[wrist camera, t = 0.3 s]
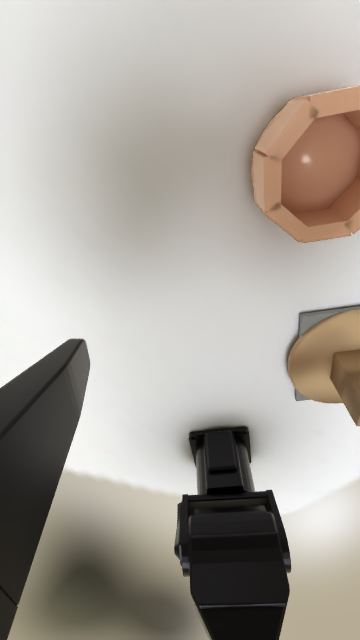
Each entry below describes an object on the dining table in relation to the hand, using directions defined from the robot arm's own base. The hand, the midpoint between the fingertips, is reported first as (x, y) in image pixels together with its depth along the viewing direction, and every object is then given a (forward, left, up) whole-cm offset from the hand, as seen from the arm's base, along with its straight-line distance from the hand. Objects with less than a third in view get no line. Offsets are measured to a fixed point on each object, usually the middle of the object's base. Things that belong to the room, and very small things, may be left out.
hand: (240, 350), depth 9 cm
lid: (-14, -11, -14) cm, 22 cm away
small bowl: (+2, -7, -14) cm, 15 cm away
